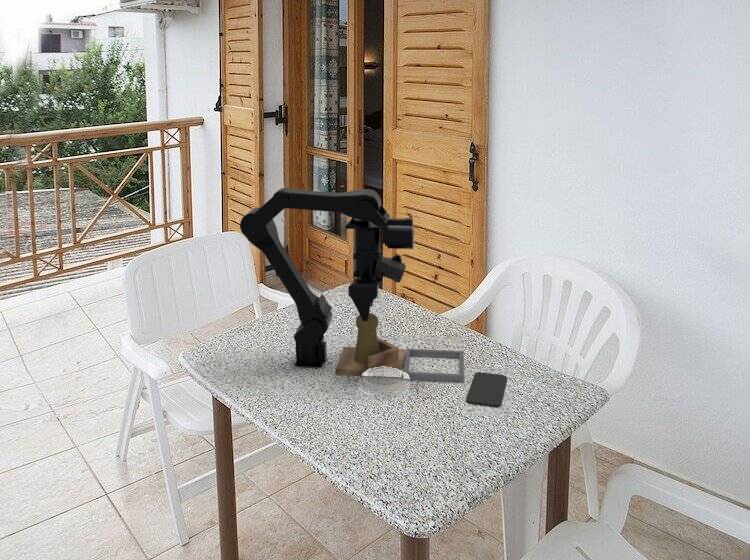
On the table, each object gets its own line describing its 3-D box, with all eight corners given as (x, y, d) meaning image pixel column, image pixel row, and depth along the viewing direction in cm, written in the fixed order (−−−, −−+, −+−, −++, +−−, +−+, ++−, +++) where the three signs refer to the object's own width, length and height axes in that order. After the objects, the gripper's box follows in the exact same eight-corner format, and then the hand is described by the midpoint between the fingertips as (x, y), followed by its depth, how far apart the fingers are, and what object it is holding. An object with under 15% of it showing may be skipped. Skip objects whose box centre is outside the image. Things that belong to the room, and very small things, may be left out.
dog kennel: (335, 374, 163) (335, 356, 161) (343, 352, 175) (343, 335, 173) (401, 378, 161) (402, 359, 160) (405, 355, 173) (405, 338, 172)
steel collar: (402, 379, 161) (402, 373, 160) (406, 354, 174) (406, 348, 173) (463, 382, 159) (464, 376, 159) (463, 356, 172) (463, 351, 172)
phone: (508, 375, 162) (500, 405, 148) (507, 378, 162) (500, 409, 149) (475, 371, 164) (464, 401, 150) (475, 374, 164) (464, 404, 151)
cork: (377, 365, 164) (377, 320, 161) (351, 363, 165) (351, 318, 162) (382, 354, 170) (382, 311, 166) (357, 352, 171) (357, 309, 167)
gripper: (400, 260, 149) (399, 330, 154) (406, 237, 167) (405, 300, 172) (347, 259, 151) (348, 328, 156) (358, 236, 168) (359, 299, 173)
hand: (367, 313), depth 164 cm, fingers open, 9 cm apart
